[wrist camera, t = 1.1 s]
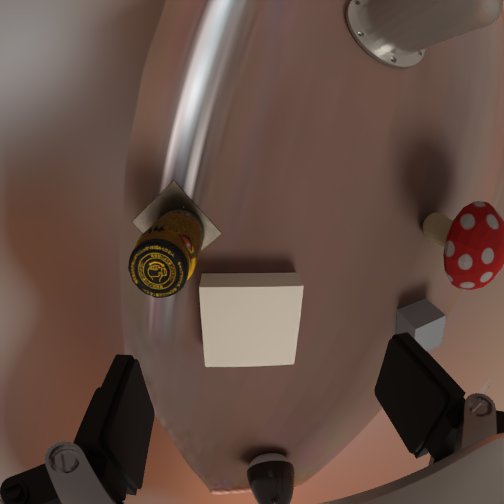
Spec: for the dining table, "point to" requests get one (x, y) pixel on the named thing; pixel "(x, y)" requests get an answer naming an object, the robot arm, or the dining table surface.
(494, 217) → the decorative mushroom
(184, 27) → the dining table surface
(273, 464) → the dark grey domed cylinder
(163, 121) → the dining table surface
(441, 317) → the slate cube
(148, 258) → the condiment
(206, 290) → the cream block
